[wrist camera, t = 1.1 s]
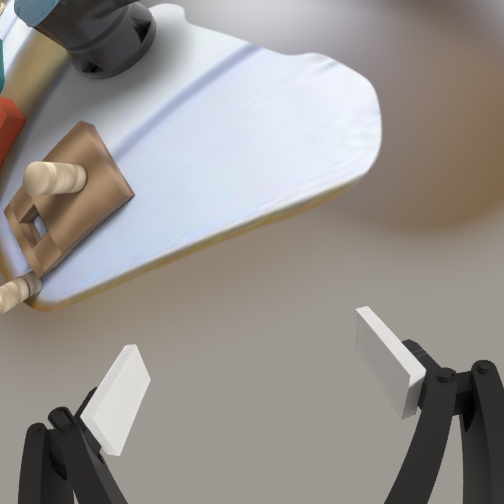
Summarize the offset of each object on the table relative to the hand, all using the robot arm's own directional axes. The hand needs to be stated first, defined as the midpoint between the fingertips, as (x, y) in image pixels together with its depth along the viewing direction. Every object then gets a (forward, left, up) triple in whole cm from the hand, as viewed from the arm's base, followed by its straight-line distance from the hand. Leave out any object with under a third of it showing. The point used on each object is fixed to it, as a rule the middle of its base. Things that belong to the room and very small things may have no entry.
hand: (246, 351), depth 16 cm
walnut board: (-23, -20, -26) cm, 40 cm away
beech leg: (-17, -36, -26) cm, 47 cm away
